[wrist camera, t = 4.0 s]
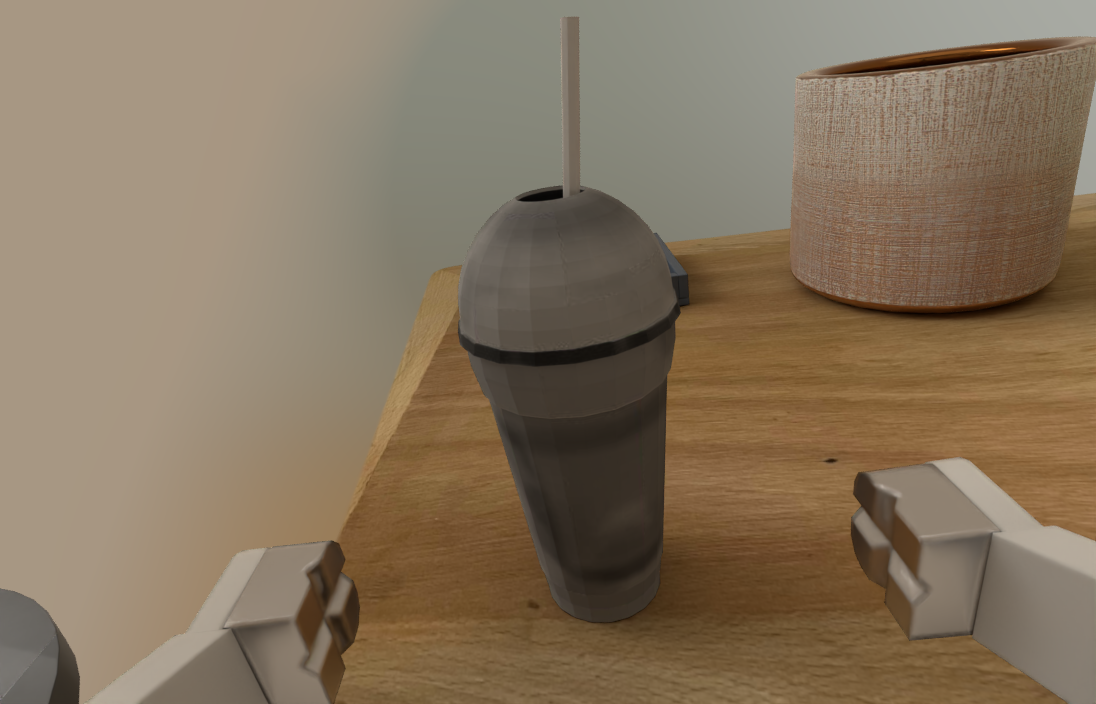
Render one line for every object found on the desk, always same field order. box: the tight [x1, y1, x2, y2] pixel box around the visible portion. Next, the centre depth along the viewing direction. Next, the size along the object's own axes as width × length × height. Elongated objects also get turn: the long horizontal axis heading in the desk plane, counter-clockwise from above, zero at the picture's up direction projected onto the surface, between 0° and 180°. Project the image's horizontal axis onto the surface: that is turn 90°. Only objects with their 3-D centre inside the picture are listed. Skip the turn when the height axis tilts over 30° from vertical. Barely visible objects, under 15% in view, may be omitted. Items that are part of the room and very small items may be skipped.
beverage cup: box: [458, 17, 681, 622], centre depth 21 cm, size 7×7×20 cm
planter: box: [790, 37, 1096, 313], centre depth 45 cm, size 18×18×16 cm
